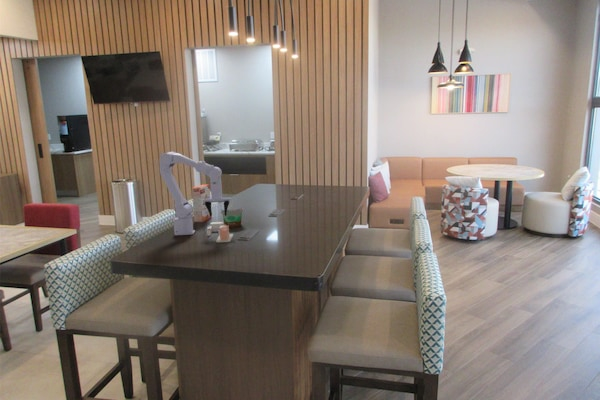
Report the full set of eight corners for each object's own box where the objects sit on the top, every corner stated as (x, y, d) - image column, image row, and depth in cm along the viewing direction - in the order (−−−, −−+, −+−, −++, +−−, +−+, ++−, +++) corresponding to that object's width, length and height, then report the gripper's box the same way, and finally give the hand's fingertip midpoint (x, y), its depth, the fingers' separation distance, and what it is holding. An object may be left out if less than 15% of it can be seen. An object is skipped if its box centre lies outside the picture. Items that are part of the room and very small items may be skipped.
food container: (222, 229, 235) (221, 211, 234) (221, 226, 241) (220, 209, 239) (245, 226, 239) (244, 209, 237) (243, 224, 244) (242, 207, 243)
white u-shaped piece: (207, 235, 223) (207, 228, 222) (211, 229, 236) (211, 222, 235) (221, 235, 223) (220, 227, 222) (224, 228, 236) (224, 221, 235)
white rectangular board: (216, 242, 210) (215, 241, 210) (219, 235, 223) (219, 234, 223) (230, 241, 210) (230, 240, 210) (233, 234, 223) (233, 233, 223)
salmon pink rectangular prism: (220, 240, 211) (219, 230, 210) (223, 235, 221) (222, 225, 220) (226, 240, 211) (226, 230, 210) (229, 234, 221) (228, 225, 220)
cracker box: (203, 222, 253) (200, 187, 249) (193, 222, 254) (190, 187, 250) (212, 217, 266) (210, 184, 262) (203, 217, 267) (201, 184, 264)
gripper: (201, 192, 220) (203, 217, 222) (229, 190, 220) (231, 216, 222) (203, 189, 227) (205, 214, 229) (231, 188, 227) (232, 213, 229)
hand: (218, 215), depth 226 cm, fingers open, 7 cm apart
